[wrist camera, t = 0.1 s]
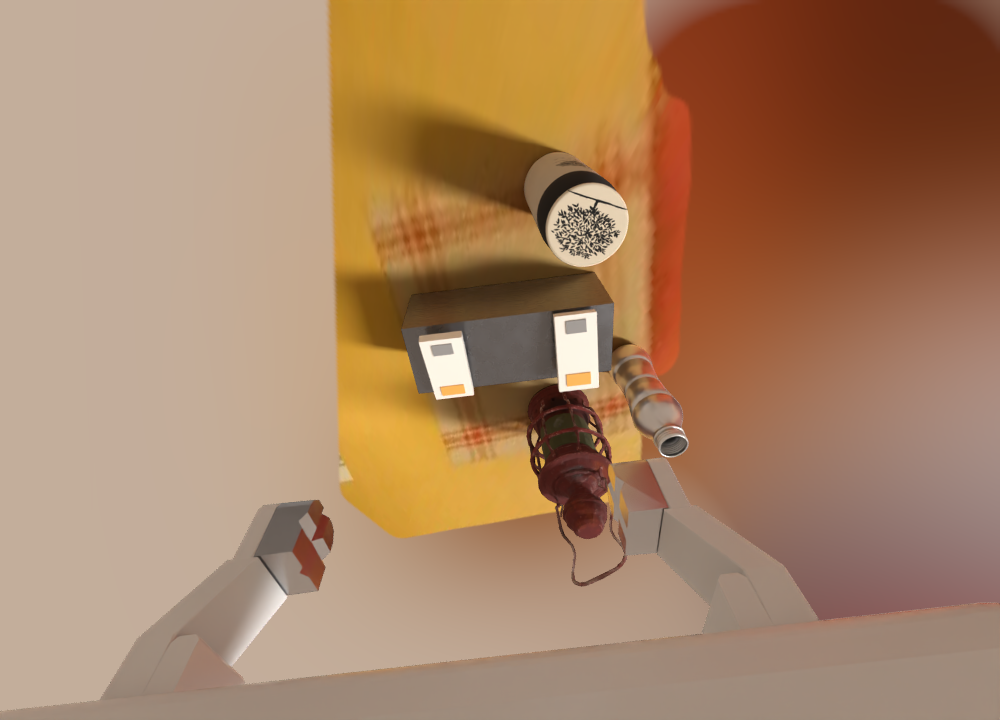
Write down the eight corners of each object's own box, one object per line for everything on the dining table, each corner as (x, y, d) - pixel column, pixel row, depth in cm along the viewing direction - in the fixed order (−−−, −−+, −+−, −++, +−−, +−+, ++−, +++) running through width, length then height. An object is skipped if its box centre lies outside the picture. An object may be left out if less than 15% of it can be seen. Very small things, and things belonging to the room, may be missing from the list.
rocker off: (552, 314, 51) (554, 317, 50) (594, 308, 51) (597, 312, 50) (558, 387, 55) (559, 392, 54) (596, 383, 55) (599, 387, 54)
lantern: (552, 444, 78) (589, 617, 52) (508, 408, 72) (525, 580, 47) (607, 408, 73) (676, 577, 48) (564, 366, 68) (616, 531, 43)
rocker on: (419, 335, 50) (418, 343, 49) (461, 330, 50) (461, 338, 49) (436, 392, 57) (436, 400, 56) (473, 388, 56) (474, 395, 56)
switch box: (411, 294, 60) (399, 333, 51) (594, 272, 60) (616, 306, 50) (426, 355, 66) (418, 399, 57) (593, 335, 65) (613, 376, 56)
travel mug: (567, 229, 56) (600, 282, 41) (513, 203, 54) (528, 249, 39) (599, 169, 52) (649, 204, 37) (542, 139, 50) (571, 163, 35)
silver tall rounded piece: (608, 378, 70) (650, 471, 53) (600, 346, 66) (642, 434, 50) (647, 367, 69) (702, 458, 52) (641, 333, 65) (698, 419, 49)
